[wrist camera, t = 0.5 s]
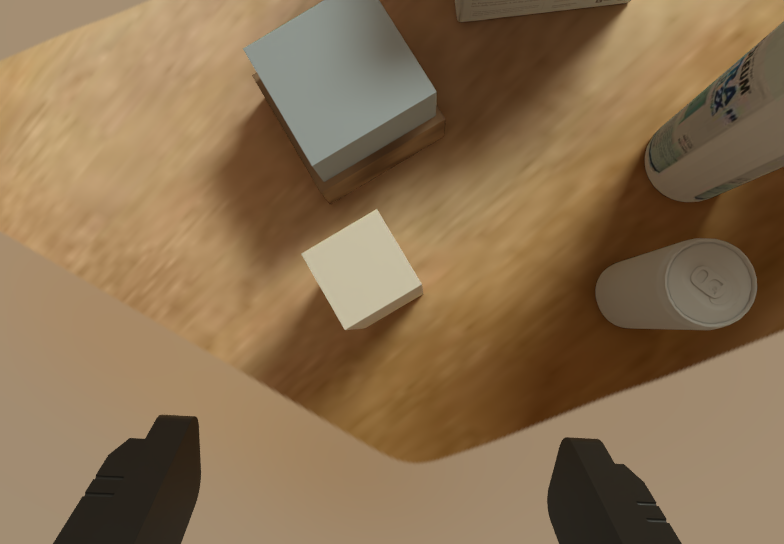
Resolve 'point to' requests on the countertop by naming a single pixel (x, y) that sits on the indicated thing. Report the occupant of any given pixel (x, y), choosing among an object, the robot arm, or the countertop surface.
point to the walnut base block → (371, 163)
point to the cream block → (363, 272)
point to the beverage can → (679, 287)
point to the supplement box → (519, 7)
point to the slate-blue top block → (343, 82)
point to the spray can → (725, 129)
